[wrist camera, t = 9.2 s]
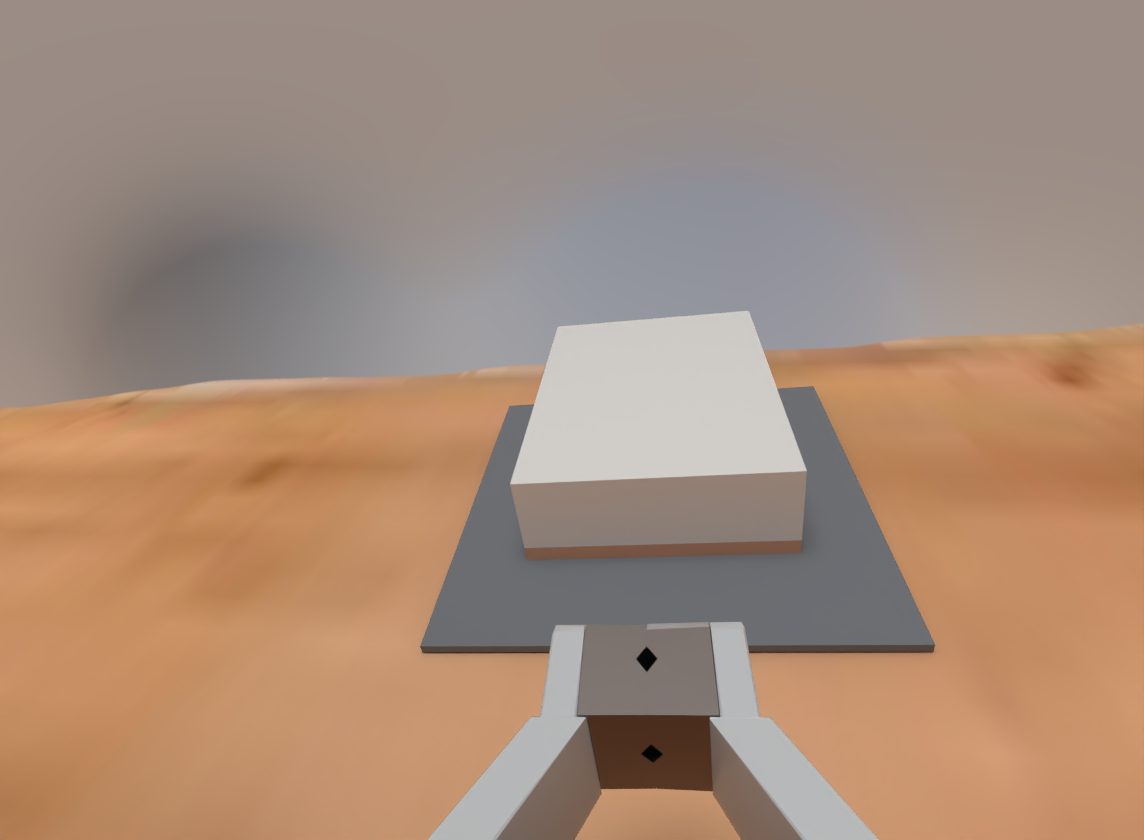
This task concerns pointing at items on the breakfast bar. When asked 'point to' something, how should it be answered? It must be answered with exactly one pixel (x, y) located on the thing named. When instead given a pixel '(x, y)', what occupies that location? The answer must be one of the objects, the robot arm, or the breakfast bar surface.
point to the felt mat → (686, 570)
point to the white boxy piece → (659, 445)
